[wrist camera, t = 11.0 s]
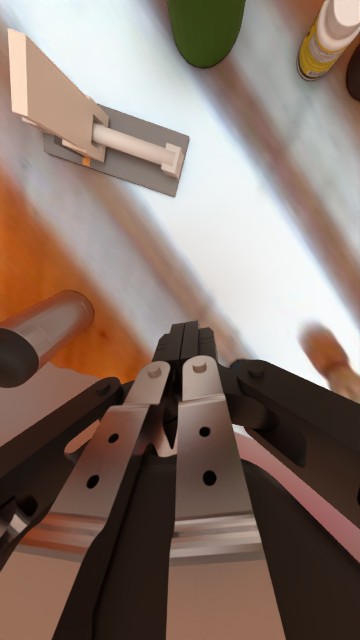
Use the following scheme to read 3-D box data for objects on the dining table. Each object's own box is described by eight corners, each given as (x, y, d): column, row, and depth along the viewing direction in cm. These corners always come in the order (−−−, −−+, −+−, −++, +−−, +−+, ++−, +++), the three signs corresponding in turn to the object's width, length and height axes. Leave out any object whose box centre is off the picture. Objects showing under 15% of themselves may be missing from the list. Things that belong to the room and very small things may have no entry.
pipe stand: (189, 138, 32) (186, 122, 26) (174, 197, 36) (169, 193, 30) (49, 89, 31) (16, 61, 26) (49, 153, 35) (19, 141, 29)
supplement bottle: (324, 16, 25) (374, -69, 18) (343, 55, 27) (397, -10, 19) (288, 57, 27) (320, -5, 20) (307, 92, 28) (344, 46, 21)
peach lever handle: (109, 115, 30) (25, 24, 16) (104, 164, 33) (27, 123, 19) (81, 105, 30) (-29, 5, 16) (78, 155, 33) (-18, 107, 19)
